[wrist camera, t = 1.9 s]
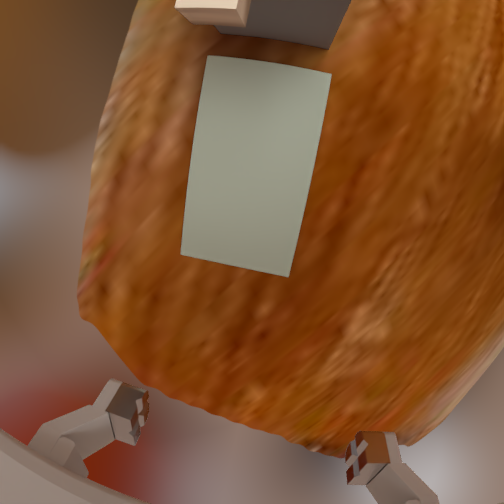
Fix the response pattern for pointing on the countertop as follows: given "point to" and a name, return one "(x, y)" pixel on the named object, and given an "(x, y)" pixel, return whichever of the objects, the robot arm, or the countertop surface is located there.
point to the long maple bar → (215, 11)
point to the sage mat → (252, 162)
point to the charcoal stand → (293, 21)
